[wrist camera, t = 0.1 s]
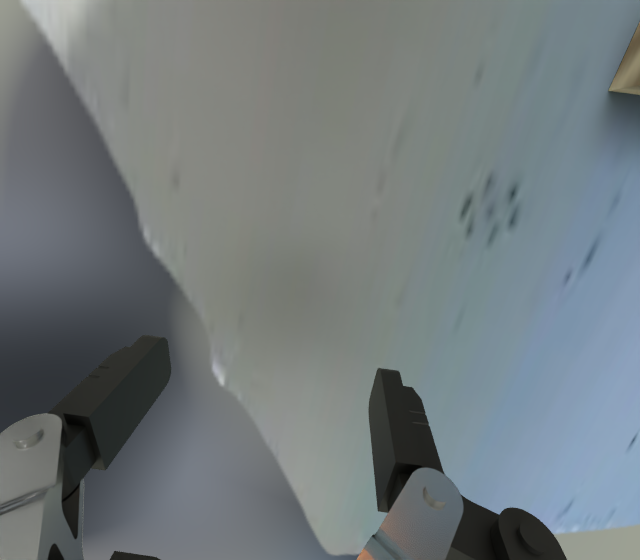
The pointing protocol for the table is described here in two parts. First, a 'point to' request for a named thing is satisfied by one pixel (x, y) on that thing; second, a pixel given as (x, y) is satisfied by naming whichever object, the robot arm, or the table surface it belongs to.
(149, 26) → the table surface
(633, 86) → the key box
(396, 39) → the table surface
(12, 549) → the robot arm
